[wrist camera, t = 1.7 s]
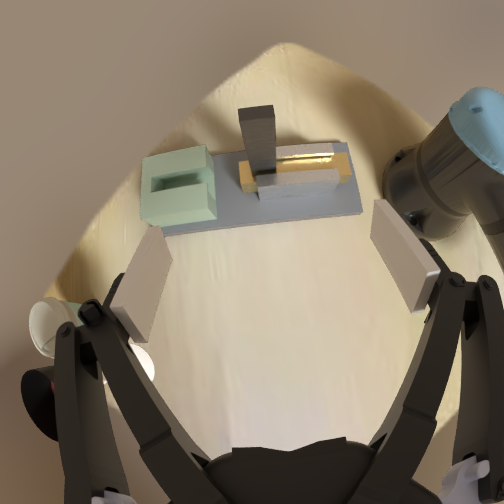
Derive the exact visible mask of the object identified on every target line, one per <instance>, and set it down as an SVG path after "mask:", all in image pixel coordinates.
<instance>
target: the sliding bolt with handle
mask: <svg viewBox="0 0 504 504" xmlns="http://www.w3.org/2000/svg"><path fill="white" fill-rule="evenodd" d="M238 115H239V123H240V127H241V131H242V135H243V140H244V144H245V148H246V152H247V156H248V161H241V162H239V172H240V183H241V187H242V190H243V193H251V192H258V189H257V181H256V176H258V175H266V174H276V173H285V172H296V171H308V170H321V169H336V168H338V171H339V176H340V181H339V183H338V184H346V183H347V182H348V180H349V178H350V177H351V175H352V173H351V168H350V164H349V160H348V156H347V152H343V153H334V155H323V156H308V157H296V158H285V159H276V129H275V114H274V108H273V105H266V106H257V107H249V108H241V109H238Z"/></svg>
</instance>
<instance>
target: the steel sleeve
mask: <svg viewBox="0 0 504 504" xmlns="http://www.w3.org/2000/svg"><path fill="white" fill-rule="evenodd" d="M323 155H334V150H333V146H332V143H315V144H301V145H288V146H278V147H276V159H285V158H296V157H308V156H323ZM256 181H257V189H258V193H259V198H260V201H265V200H273V199H283V198H293V197H303V196H314V195H326V194H333V192H334V190H335V188H336V186H337V185H338V183H339V181H340V176H339V171H338V168H336V169H321V170H308V171H296V172H285V173H276V174H266V175H258V176H256Z"/></svg>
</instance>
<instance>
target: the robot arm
mask: <svg viewBox="0 0 504 504" xmlns="http://www.w3.org/2000/svg"><path fill="white" fill-rule="evenodd" d="M383 193H384V198H385V199H380V200H374V209H373V218H372V227H371V234H370V238H371V240H372V241H373V243H374V245H375V246H376V248H377V250H378V252H379V253H380V255H381V257H382V259H383V260H384V262H385V264H386V266H387V268H388V269H389V271H390V273H391V275H392V277H393V279H394V281H395V282H396V284H397V286H398V288H399V290H400V292H401V294H402V296H403V298H404V300H405V302H406V304H407V306H408V308H409V310H410V312H411V314H415V313H419V312H424V310H425V307H426V305H427V303H428V305H429V307H430V311H429V313H428V315H427V317H426V319H425V321H424V323H425V326H424V329H423V332H422V335H421V338H420V341H419V343H418V346H417V349H416V352H415V354H414V357H413V359H412V362H411V364H410V367H409V369H408V372H407V374H406V376H405V379H404V381H403V383H402V385H401V388H400V390H399V392H398V394H397V396H396V398H395V400H394V402H393V404H392V406H391V408H390V410H389V412H388V414H387V416H386V418H385V420H384V422H383V423H382V425H381V427H380V428H379V430H378V431H377V433H376V434H375V435H374V437H373V438H372V440H371V441H370V443H369V445H368V446H367V445H365V444H362V443H358V442H353V441H346V437H340V438H335V439H330V440H324V441H318V442H315V443H313V444H310V445H307V446H305V447H302V448H299V449H296V450H293V451H281V450H274V449H268V448H262V447H244V448H232V452H230V453H227V454H224V455H221V456H219V457H217V458H215V459H214V460H211V459H210V458H209V457H208V456H207V455H206V454H205V453H204V452H203V451H202V450H201V449H200V448H199V447H198V446H197V445H196V444H195V442H194V441H193V440H192V439H191V437H190V436H189V435H188V433H187V432H186V431H185V429H184V428H183V427H182V425H181V424H180V423H179V421H178V420H177V419H176V417H175V416H174V414H173V413H172V412H171V410H170V409H169V407H168V406H167V404H166V403H165V402H164V400H163V399H162V397H161V396H160V394H159V393H158V391H157V389H156V388H155V386H154V385H153V383H152V382H151V380H150V378H149V377H148V375H147V373H146V372H145V370H144V368H143V367H142V365H141V363H140V362H139V360H138V358H137V356H136V355H135V353H134V351H133V349H132V347H131V346H130V344H129V343H128V340H129V337H131V338H132V340H133V341H134V342H135V343H148V339H149V335H150V332H151V328H152V325H153V321H154V318H155V314H156V311H157V308H158V304H159V301H160V298H161V294H162V291H163V288H164V285H165V282H166V279H167V276H168V273H169V269H170V266H171V264H172V261H173V259H172V257H171V254H170V252H169V249H168V246H167V244H166V241H165V238H164V236H163V233H162V230H161V227H160V225H157V226H151V227H148V229H147V231H146V233H145V235H144V237H143V239H142V240H141V242H140V244H139V246H138V248H137V250H136V252H135V254H134V256H133V258H132V260H131V262H130V264H129V266H128V268H127V270H126V272H125V273H120V274H119V276H118V277H117V278H116V279H115V280H114V282H113V284H112V286H111V287H112V288H110V290H109V293H108V295H107V297H106V299H105V301H104V303H103V305H102V306H101V304H100V303H99V301H98V300H96V299H91V300H88V301H86V302H85V303H83V304H82V305H81V307H80V308H79V310H78V317H79V319H80V320H81V321H82V322H83V324H84V325H81V326H78V327H76V326H75V325H74V323H73V322H70V321H68V322H65V323H63V324H62V325H61V326H60V327H59V328H58V330H57V332H56V338H55V357H54V394H55V412H56V424H57V433H58V441H59V448H60V454H61V460H62V465H63V470H64V475H65V489H64V504H137V503H136V502H135V500H134V499H133V498H131V497H130V493H129V488H128V483H127V480H126V476H125V473H124V470H123V467H122V463H121V460H120V457H119V454H118V450H117V446H116V443H115V438H114V434H113V430H112V426H111V421H110V417H109V412H108V406H107V401H106V395H105V389H104V383H103V376H102V371H103V374H104V376H105V378H106V381H107V383H108V385H109V387H110V390H111V392H112V394H113V396H114V398H115V400H116V402H117V404H118V406H119V408H120V410H121V412H122V414H123V416H124V418H125V420H126V422H127V424H128V425H129V427H130V429H131V431H132V433H133V434H134V436H135V438H136V440H137V441H138V443H139V445H140V450H139V453H140V456H141V457H142V459H143V461H144V462H145V464H146V466H147V467H148V469H149V470H150V472H151V473H152V475H153V476H154V478H155V479H156V480H157V482H158V483H159V485H160V486H161V488H162V489H163V490H164V492H165V493H166V494H167V496H168V497H169V498H170V499H171V501H170V502H169V503H168V504H492V503H497V502H500V501H503V500H504V309H503V304H502V300H501V296H500V292H499V288H498V285H497V283H496V281H495V280H494V279H493V278H491V277H490V276H487V275H482V276H480V277H479V279H478V281H477V282H467V281H466V280H465V278H464V277H463V276H462V275H460V274H458V273H456V272H451V271H450V269H449V268H448V267H447V265H446V264H445V262H444V261H443V260H442V258H441V257H440V256H439V254H438V253H437V252H436V251H435V249H434V248H433V246H432V245H431V244H430V243H429V242H428V241H436V240H440V239H443V238H445V237H448V236H449V235H451V234H452V233H454V232H455V231H456V230H457V228H458V227H459V226H460V225H461V223H462V222H463V221H464V220H465V218H466V217H467V216H468V215H469V214H471V213H473V214H474V216H475V217H476V219H477V221H478V223H479V224H480V226H481V228H482V230H483V232H484V234H485V236H486V238H487V239H488V241H489V243H490V245H491V247H492V249H493V251H494V253H495V256H496V258H497V260H498V262H499V264H500V267H501V269H502V271H503V273H504V95H503V94H501V93H499V92H497V91H495V90H493V89H490V88H486V87H475V88H472V89H470V90H469V91H467V92H466V93H465V94H464V95H463V97H461V99H460V100H459V101H456V102H455V103H453V104H452V106H451V107H450V110H449V112H448V113H447V115H446V116H445V117H444V118H443V119H442V120H441V122H440V123H439V124H438V125H437V126H436V127H435V128H434V130H433V131H432V132H431V133H430V134H429V135H428V136H427V137H426V139H425V140H424V141H423V142H421V143H418V144H415V145H412V146H409V147H406V148H404V149H402V150H400V151H399V152H398V153H396V154H395V155H394V157H393V158H392V159H391V160H390V162H389V163H388V164H387V166H386V168H385V171H384V175H383ZM460 330H461V350H462V369H461V392H460V405H459V414H458V422H457V430H456V436H455V442H454V449H453V459H452V467H451V468H450V469H449V471H448V472H447V474H446V475H445V477H444V478H443V480H442V485H443V487H442V490H441V491H440V492H439V493H438V495H437V496H436V495H435V494H434V493H432V492H431V491H429V490H428V489H426V488H425V487H424V486H422V485H421V484H419V483H418V482H416V481H415V480H414V479H412V477H413V475H414V473H415V471H416V469H417V467H418V465H419V464H420V461H421V459H422V457H423V456H424V454H425V452H426V449H427V447H428V445H429V443H430V441H431V438H432V436H433V434H434V431H435V429H436V426H437V421H436V419H435V417H436V414H437V411H438V408H439V406H440V403H441V400H442V397H443V394H444V391H445V388H446V385H447V382H448V379H449V375H450V372H451V368H452V365H453V361H454V357H455V353H456V349H457V344H458V340H459V335H460Z"/></svg>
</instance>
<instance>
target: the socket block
mask: <svg viewBox="0 0 504 504" xmlns="http://www.w3.org/2000/svg"><path fill="white" fill-rule="evenodd" d="M140 219H141V220H143V221H145V222H147V223H149V224H151V225H153V226H157V225H160V227H165V226H172V225H179V224H185V223H193V222H200V221H207V220H215V219H217V208H216V192H215V174H214V161H213V159H212V157H211V155H210V153H209V151H208V149H207V147H206V145H200V146H194V147H189V148H184V149H180V150H175V151H170V152H166V153H161V154H157V155H153V156H149V157H145V158H143V160H142V176H141V203H140Z"/></svg>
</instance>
